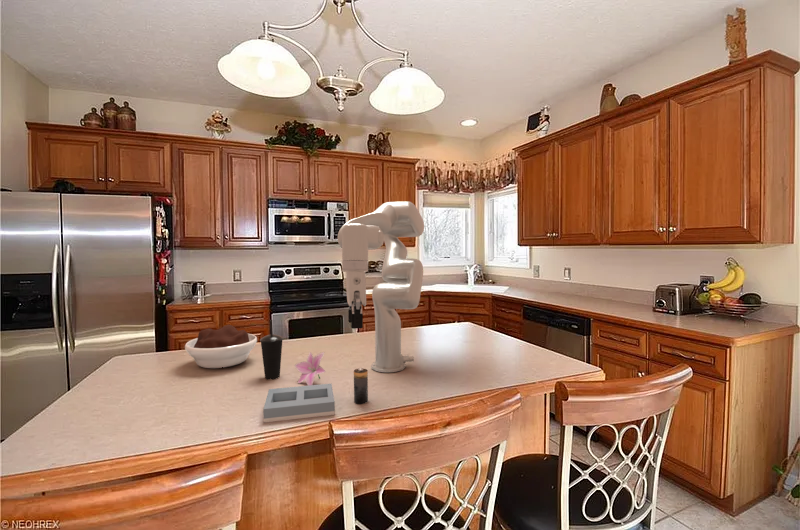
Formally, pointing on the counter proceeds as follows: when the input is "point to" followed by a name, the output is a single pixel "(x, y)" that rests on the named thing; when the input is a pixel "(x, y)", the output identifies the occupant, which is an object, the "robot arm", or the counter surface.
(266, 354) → the drinking cup
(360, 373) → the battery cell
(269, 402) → the tray
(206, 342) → the white bowl of brownies
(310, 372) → the lily
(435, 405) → the counter surface
